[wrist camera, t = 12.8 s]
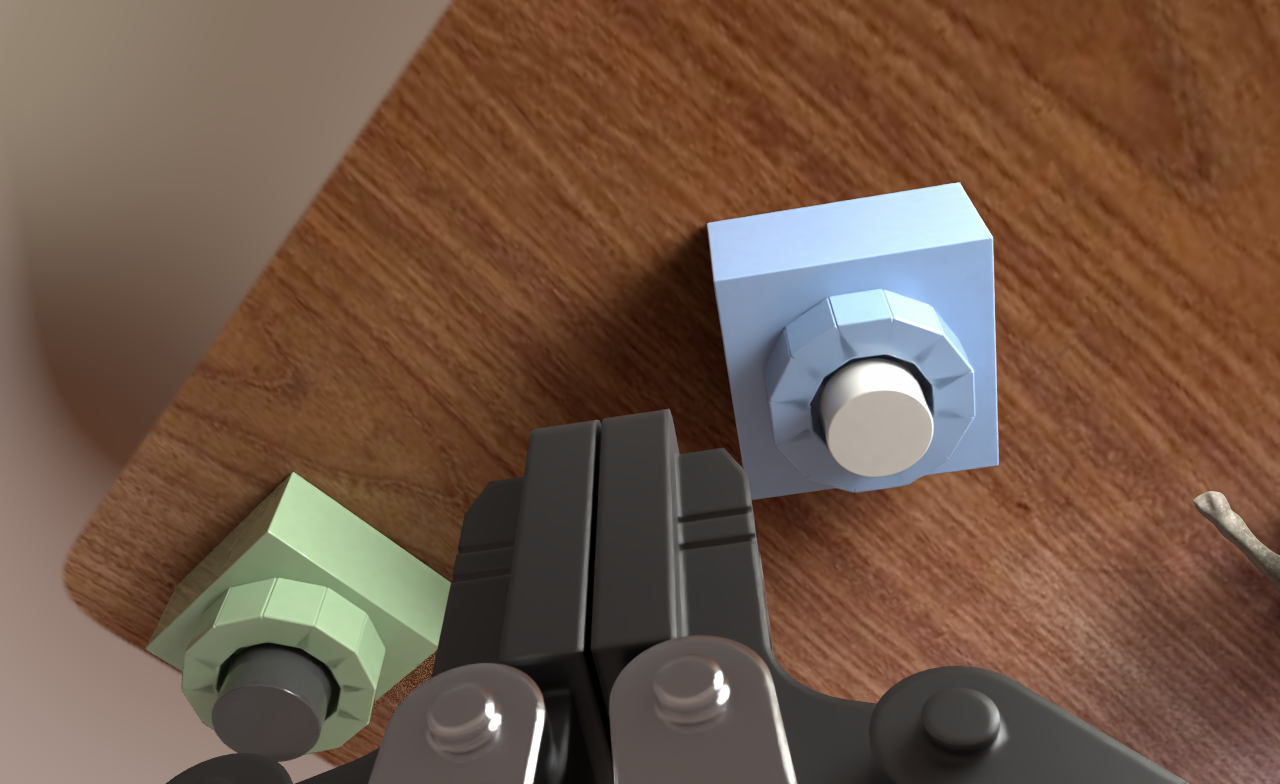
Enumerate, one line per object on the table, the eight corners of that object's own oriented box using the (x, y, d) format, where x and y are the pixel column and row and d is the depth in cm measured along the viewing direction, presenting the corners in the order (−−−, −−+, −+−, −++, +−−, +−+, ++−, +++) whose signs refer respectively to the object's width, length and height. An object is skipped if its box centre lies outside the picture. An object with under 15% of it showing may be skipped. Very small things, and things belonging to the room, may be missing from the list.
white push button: (823, 450, 36) (831, 485, 35) (814, 365, 35) (821, 397, 33) (924, 436, 36) (936, 470, 35) (918, 349, 35) (931, 381, 33)
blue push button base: (739, 430, 43) (752, 536, 38) (706, 222, 39) (716, 309, 33) (968, 396, 42) (1014, 499, 37) (959, 181, 38) (1010, 264, 33)
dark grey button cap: (208, 680, 42) (189, 725, 40) (269, 625, 41) (252, 668, 39) (292, 732, 43) (278, 777, 42) (354, 679, 42) (342, 724, 40)
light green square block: (176, 585, 46) (124, 690, 42) (293, 470, 44) (251, 569, 39) (334, 685, 49) (301, 794, 44) (453, 583, 46) (432, 688, 42)
